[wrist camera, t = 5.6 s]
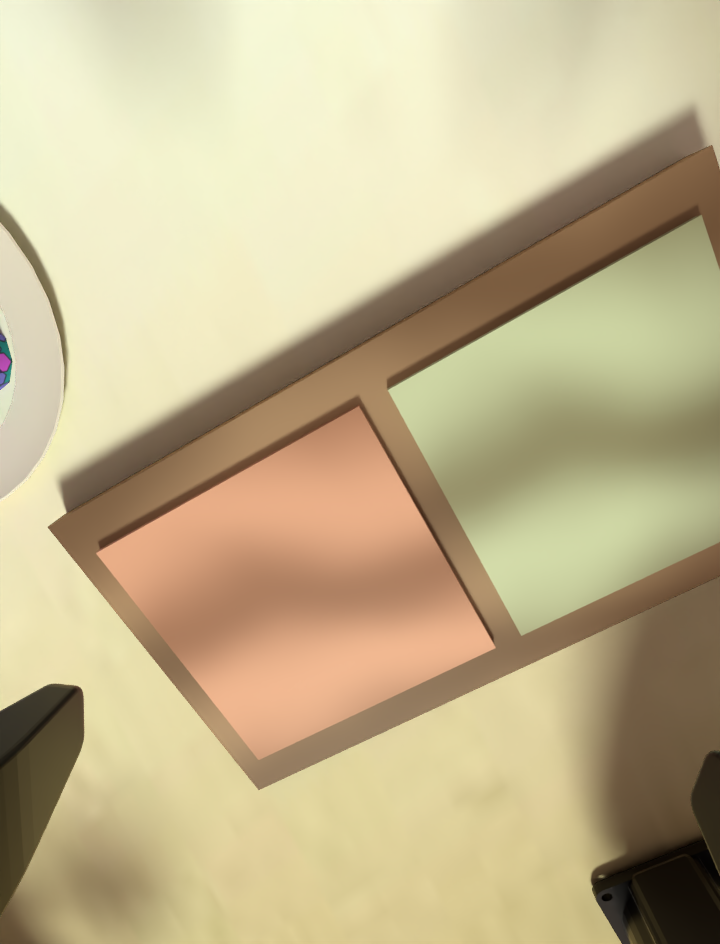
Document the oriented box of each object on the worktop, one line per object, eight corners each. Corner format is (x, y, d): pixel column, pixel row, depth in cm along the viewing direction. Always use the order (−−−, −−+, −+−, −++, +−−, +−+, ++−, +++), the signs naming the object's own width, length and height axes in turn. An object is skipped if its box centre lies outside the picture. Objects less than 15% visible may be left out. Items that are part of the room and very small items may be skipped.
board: (802, 511, 19) (838, 528, 18) (263, 765, 22) (257, 796, 21) (685, 157, 16) (719, 141, 14) (66, 513, 19) (42, 530, 17)
